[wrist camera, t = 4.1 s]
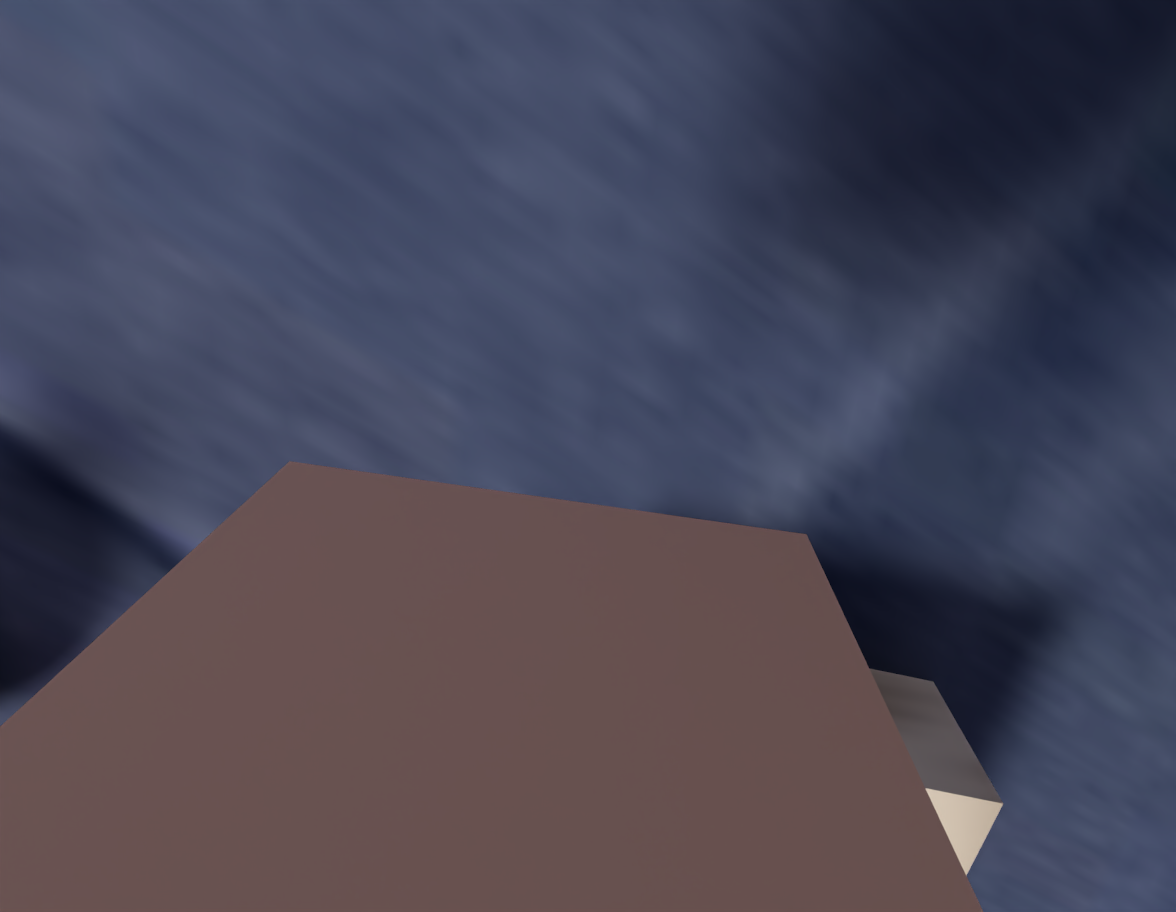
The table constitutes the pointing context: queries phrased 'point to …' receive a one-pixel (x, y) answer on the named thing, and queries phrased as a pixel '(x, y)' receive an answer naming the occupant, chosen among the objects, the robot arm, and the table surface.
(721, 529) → the terracotta cube
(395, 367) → the table surface
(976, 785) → the beech block
